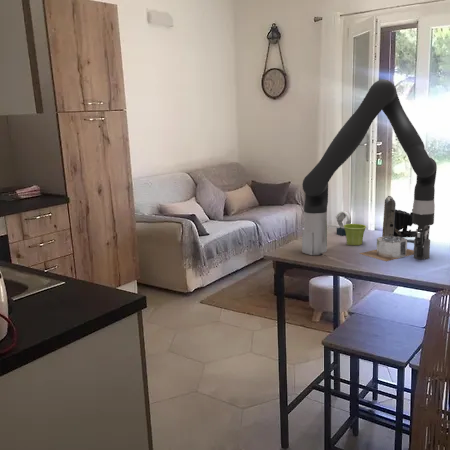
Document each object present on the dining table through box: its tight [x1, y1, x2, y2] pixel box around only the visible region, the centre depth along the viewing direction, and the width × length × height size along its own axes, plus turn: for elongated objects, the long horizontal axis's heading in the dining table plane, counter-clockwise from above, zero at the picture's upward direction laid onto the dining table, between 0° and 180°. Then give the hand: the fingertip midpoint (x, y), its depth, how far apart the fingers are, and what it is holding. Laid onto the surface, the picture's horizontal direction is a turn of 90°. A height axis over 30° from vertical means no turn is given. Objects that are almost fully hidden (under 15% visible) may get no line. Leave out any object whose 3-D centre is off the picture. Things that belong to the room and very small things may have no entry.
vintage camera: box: [381, 195, 416, 238], centre depth 215 cm, size 10×16×20 cm, turn 79°
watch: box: [335, 210, 352, 237], centre depth 234 cm, size 6×8×11 cm
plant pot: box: [343, 223, 367, 246], centre depth 213 cm, size 9×9×9 cm
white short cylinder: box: [376, 236, 408, 259], centre depth 195 cm, size 11×11×6 cm
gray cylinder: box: [413, 238, 431, 261], centre depth 189 cm, size 6×6×8 cm
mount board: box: [358, 248, 414, 262], centre depth 198 cm, size 20×14×1 cm
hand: (421, 254), depth 190 cm, fingers closed on gray cylinder, 5 cm apart
